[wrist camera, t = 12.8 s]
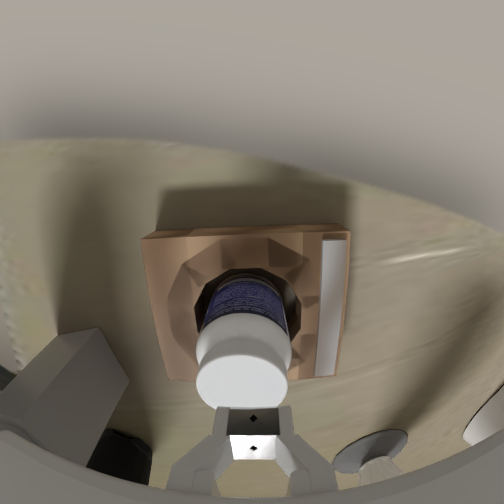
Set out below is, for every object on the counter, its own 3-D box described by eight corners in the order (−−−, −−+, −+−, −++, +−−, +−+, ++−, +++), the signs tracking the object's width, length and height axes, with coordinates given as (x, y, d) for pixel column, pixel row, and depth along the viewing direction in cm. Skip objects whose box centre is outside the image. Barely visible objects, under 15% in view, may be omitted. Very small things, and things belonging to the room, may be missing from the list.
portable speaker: (170, 458, 29) (142, 573, 10) (125, 462, 30) (92, 557, 11) (128, 422, 27) (77, 548, 8) (87, 428, 28) (37, 527, 9)
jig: (337, 223, 21) (352, 232, 17) (328, 355, 24) (337, 378, 20) (155, 230, 21) (138, 240, 18) (176, 359, 24) (167, 382, 21)
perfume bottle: (130, 380, 25) (61, 519, 8) (86, 383, 26) (16, 495, 8) (99, 327, 23) (-9, 461, 6) (57, 335, 24) (-39, 440, 6)
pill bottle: (199, 286, 22) (164, 362, 12) (266, 260, 21) (275, 326, 12) (229, 343, 23) (217, 431, 14) (292, 320, 23) (312, 406, 13)
